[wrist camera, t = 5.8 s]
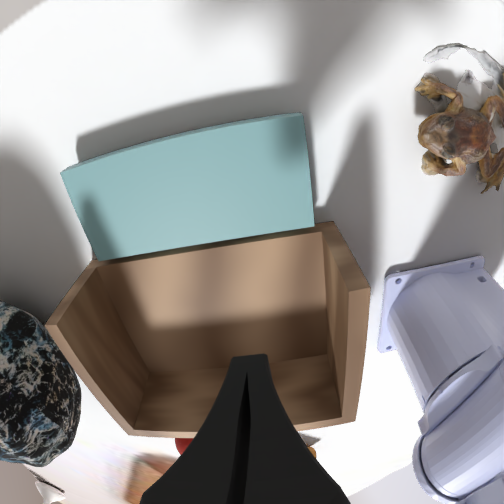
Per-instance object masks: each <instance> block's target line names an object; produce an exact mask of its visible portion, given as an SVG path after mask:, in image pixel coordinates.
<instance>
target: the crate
mask: <svg viewBox="0 0 504 504" xmlns="http://www.w3.org/2000/svg"><path fill="white" fill-rule="evenodd" d="M369 304H370V286H369V284H368V282H367V280H366V278H365V276H364V275H363V273H362V271H361V269H360V267H359V265H358V264H357V262H356V260H355V258H354V256H353V254H352V253H351V251H350V249H349V247H348V246H347V244H346V242H345V240H344V239H343V237H342V235H341V233H340V232H339V230H338V228H337V227H336V225H335V223H334V221H331V222H324V223H317V224H314V227H307V228H301V229H294V230H287V231H281V232H274V233H268V234H261V235H255V236H249V237H242V238H236V239H230V240H223V241H217V242H211V243H205V244H198V245H192V246H186V247H180V248H174V249H168V250H162V251H156V252H150V253H144V254H138V255H133V256H127V257H121V258H115V259H109V260H104V261H98V259H97V260H92V261H91V262H90V263H89V265H88V266H87V267H86V269H85V270H84V271H83V272H82V274H81V275H80V276H79V278H78V279H77V280H76V282H75V283H74V284H73V286H72V287H71V288H70V290H69V291H68V292H67V294H66V295H65V297H64V298H63V299H62V301H61V302H60V304H59V305H58V306H57V308H56V309H55V311H54V312H53V313H52V315H51V316H50V318H49V319H48V321H47V322H46V324H45V325H44V326H45V327H46V329H47V330H48V332H49V334H50V335H51V337H52V338H53V340H54V341H55V343H56V344H57V346H58V347H59V349H60V350H61V352H62V353H63V355H64V356H65V358H66V359H67V361H68V362H69V363H70V365H71V366H72V368H73V369H74V370H75V372H76V373H77V374H78V376H79V377H80V378H81V380H82V381H83V382H84V384H85V385H86V386H87V387H88V389H89V390H90V391H91V393H92V394H93V395H94V396H95V398H96V399H97V400H98V401H99V402H100V404H101V405H102V406H103V407H104V408H105V410H106V411H107V412H108V413H109V414H110V415H111V416H112V418H113V419H114V420H115V421H116V422H117V423H118V424H119V425H120V427H121V428H122V429H123V430H124V431H125V432H126V433H127V434H128V435H133V436H146V437H165V438H194V437H195V435H196V434H197V432H198V431H199V429H200V428H201V426H202V424H203V423H204V421H205V419H206V417H207V415H208V414H209V412H210V410H211V408H212V406H213V404H214V402H215V400H216V398H217V396H218V393H219V391H220V389H221V387H222V384H223V382H224V379H225V376H226V374H227V371H228V368H229V365H230V361H231V359H232V358H233V357H236V356H246V355H254V354H263V353H264V354H266V355H267V356H268V361H269V366H270V370H271V375H272V380H273V384H274V386H275V389H276V391H277V394H278V396H279V398H280V401H281V403H282V405H283V407H284V409H285V411H286V413H287V415H288V417H289V419H290V420H291V422H292V424H293V426H294V427H295V429H296V431H303V430H310V429H316V428H322V427H328V426H333V425H339V424H344V423H349V422H354V421H355V419H356V413H357V408H358V401H359V395H360V388H361V382H362V374H363V366H364V358H365V349H366V340H367V329H368V318H369Z"/></svg>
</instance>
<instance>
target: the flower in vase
mask: <svg viewBox="0 0 504 504" xmlns="http://www.w3.org/2000/svg"><path fill="white" fill-rule="evenodd" d="M35 485H36V487H37V489H38V490H39V492H40V493H41V495H42V497H43V500H44V501H43V504H51V503H52V502H54V501H59V500H63V499H65V498H66V496H65V495H64V494H63V493H62V492H61V491H59V490H58V489H56V488H54V487H53V486H51V485H48V484H46V483H43V482H39V481H37V482H35Z"/></svg>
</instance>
